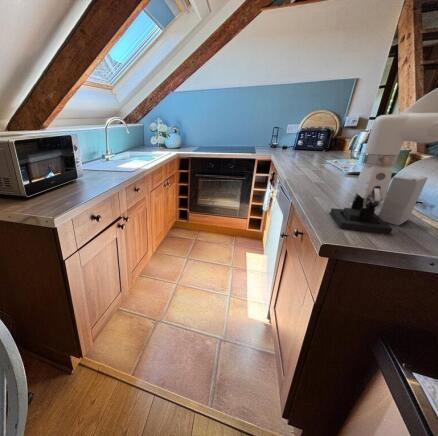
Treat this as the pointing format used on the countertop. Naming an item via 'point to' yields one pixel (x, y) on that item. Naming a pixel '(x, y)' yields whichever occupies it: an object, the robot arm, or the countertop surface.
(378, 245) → the countertop surface
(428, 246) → the countertop surface
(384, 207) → the cosmetic box
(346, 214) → the black pad
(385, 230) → the frame
